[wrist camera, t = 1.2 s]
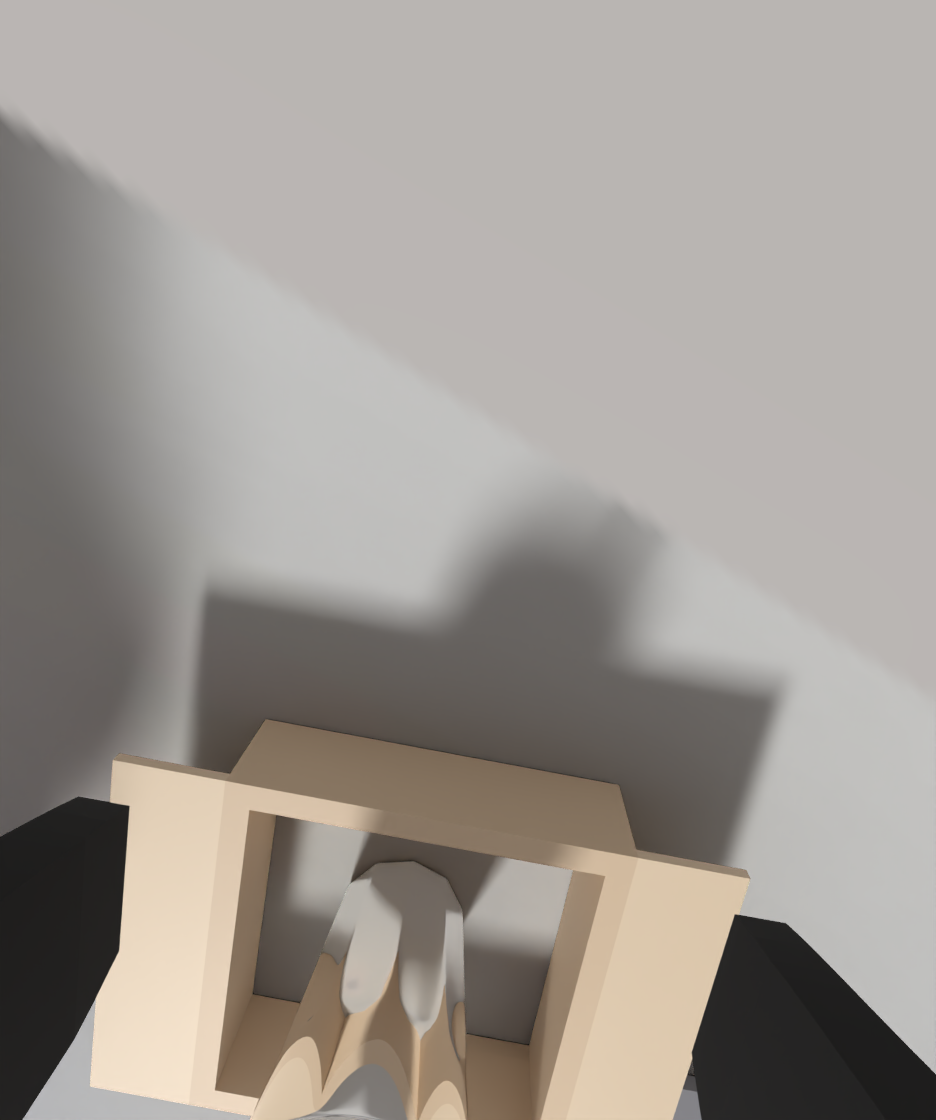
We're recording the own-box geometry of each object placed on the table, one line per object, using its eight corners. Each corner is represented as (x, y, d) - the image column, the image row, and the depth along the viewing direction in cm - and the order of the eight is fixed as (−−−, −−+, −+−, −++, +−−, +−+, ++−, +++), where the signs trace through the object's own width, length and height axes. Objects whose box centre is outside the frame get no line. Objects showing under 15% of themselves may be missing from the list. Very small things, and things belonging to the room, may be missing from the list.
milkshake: (543, 903, 21) (577, 1369, 11) (398, 1006, 22) (316, 1512, 12) (430, 787, 20) (363, 1181, 11) (285, 900, 21) (106, 1350, 12)
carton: (630, 1081, 22) (650, 1190, 20) (143, 991, 22) (90, 1086, 19) (714, 802, 20) (750, 879, 17) (169, 701, 20) (112, 760, 17)
